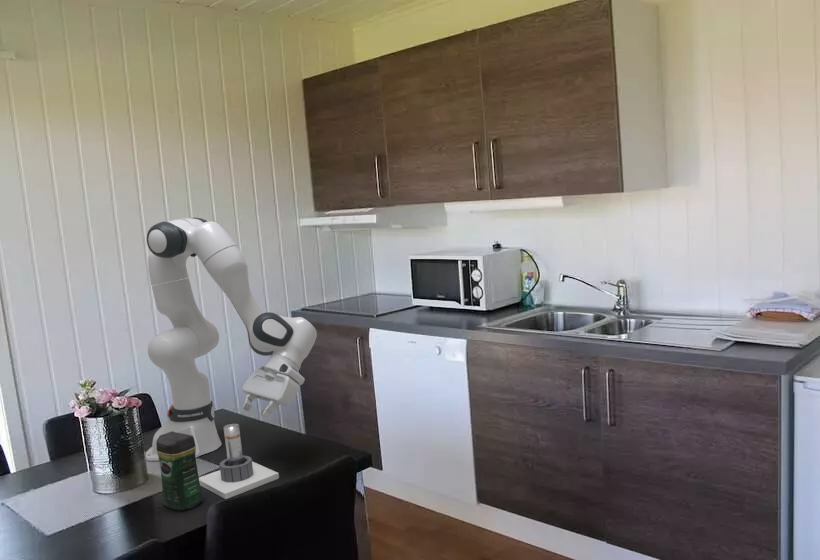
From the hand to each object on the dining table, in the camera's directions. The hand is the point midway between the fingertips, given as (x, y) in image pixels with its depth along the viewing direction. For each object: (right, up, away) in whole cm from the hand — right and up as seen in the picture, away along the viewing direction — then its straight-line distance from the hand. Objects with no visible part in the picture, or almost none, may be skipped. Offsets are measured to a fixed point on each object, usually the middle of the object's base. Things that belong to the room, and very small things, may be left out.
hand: (254, 413), depth 193 cm
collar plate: (-4, -18, -3) cm, 18 cm away
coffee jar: (-15, -21, -15) cm, 29 cm away
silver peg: (-4, -16, -3) cm, 17 cm away
